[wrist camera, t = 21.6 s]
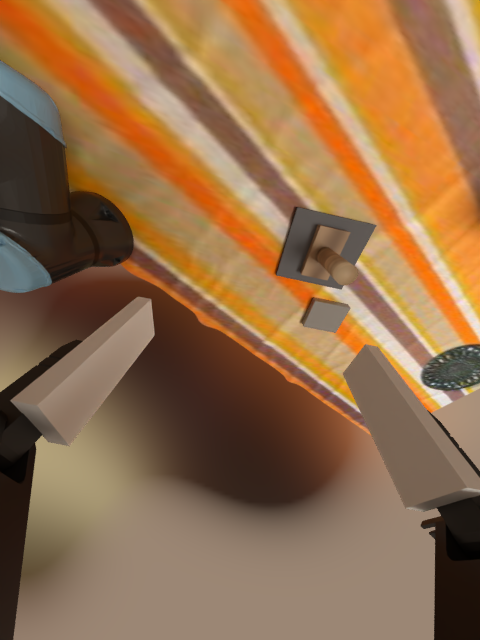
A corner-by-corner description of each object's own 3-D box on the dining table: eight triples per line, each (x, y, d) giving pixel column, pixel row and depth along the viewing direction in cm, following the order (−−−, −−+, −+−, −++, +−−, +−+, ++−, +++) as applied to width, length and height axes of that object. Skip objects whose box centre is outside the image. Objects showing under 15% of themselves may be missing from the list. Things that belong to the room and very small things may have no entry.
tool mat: (276, 273, 44) (276, 275, 44) (296, 207, 36) (297, 207, 36) (339, 287, 45) (341, 289, 44) (373, 224, 37) (376, 225, 36)
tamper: (299, 271, 43) (314, 299, 31) (317, 224, 37) (344, 236, 25) (324, 277, 43) (348, 307, 31) (346, 230, 37) (385, 246, 26)
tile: (303, 326, 50) (335, 332, 50) (315, 300, 45) (350, 308, 45) (301, 321, 52) (332, 327, 52) (313, 296, 47) (346, 303, 47)
